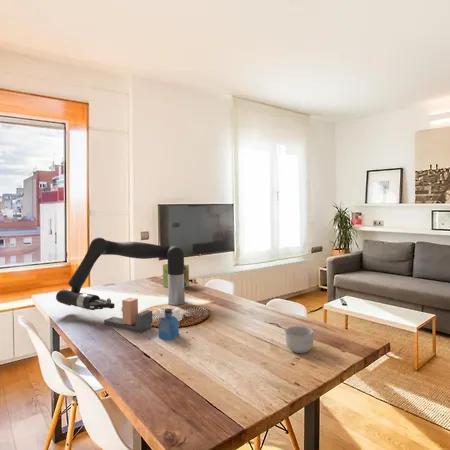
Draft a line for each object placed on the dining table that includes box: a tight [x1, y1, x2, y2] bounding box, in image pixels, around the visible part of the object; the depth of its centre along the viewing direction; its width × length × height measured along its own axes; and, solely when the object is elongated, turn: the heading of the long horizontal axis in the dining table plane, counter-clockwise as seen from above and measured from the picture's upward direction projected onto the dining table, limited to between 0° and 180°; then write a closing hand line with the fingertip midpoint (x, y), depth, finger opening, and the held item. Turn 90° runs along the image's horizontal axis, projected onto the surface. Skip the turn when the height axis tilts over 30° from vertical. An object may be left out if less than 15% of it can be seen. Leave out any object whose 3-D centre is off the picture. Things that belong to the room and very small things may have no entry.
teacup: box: [284, 324, 314, 354], centre depth 137 cm, size 14×11×8 cm
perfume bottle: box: [158, 309, 180, 341], centre depth 151 cm, size 6×6×12 cm
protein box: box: [162, 263, 190, 289], centre depth 240 cm, size 10×15×16 cm
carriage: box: [121, 297, 139, 325], centre depth 163 cm, size 6×5×11 cm
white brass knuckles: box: [157, 306, 191, 321], centre depth 177 cm, size 3×18×15 cm
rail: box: [103, 309, 153, 333], centre depth 164 cm, size 24×8×8 cm, turn 62°
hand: (113, 306), depth 167 cm, fingers closed
